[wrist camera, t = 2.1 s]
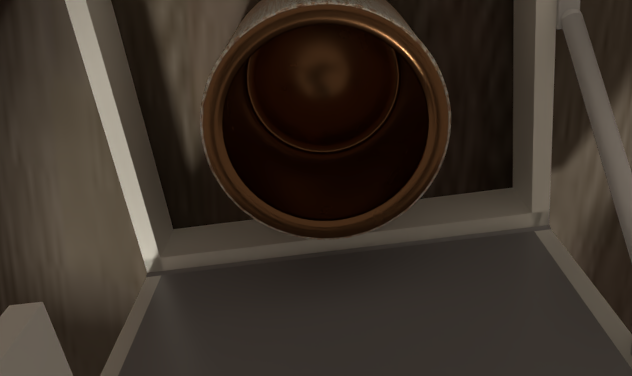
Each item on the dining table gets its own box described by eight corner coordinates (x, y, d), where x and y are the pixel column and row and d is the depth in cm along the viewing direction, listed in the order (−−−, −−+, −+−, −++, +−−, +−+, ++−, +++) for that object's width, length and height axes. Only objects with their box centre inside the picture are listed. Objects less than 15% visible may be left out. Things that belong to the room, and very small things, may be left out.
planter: (386, 181, 36) (409, 264, 27) (213, 142, 35) (179, 215, 26) (443, 4, 32) (492, 35, 23) (247, -47, 31) (220, -34, 22)
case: (166, 258, 38) (-5, 645, 18) (71, -73, 30) (-448, -60, 10) (545, 213, 37) (832, 574, 17) (557, -148, 29) (1162, -317, 8)
